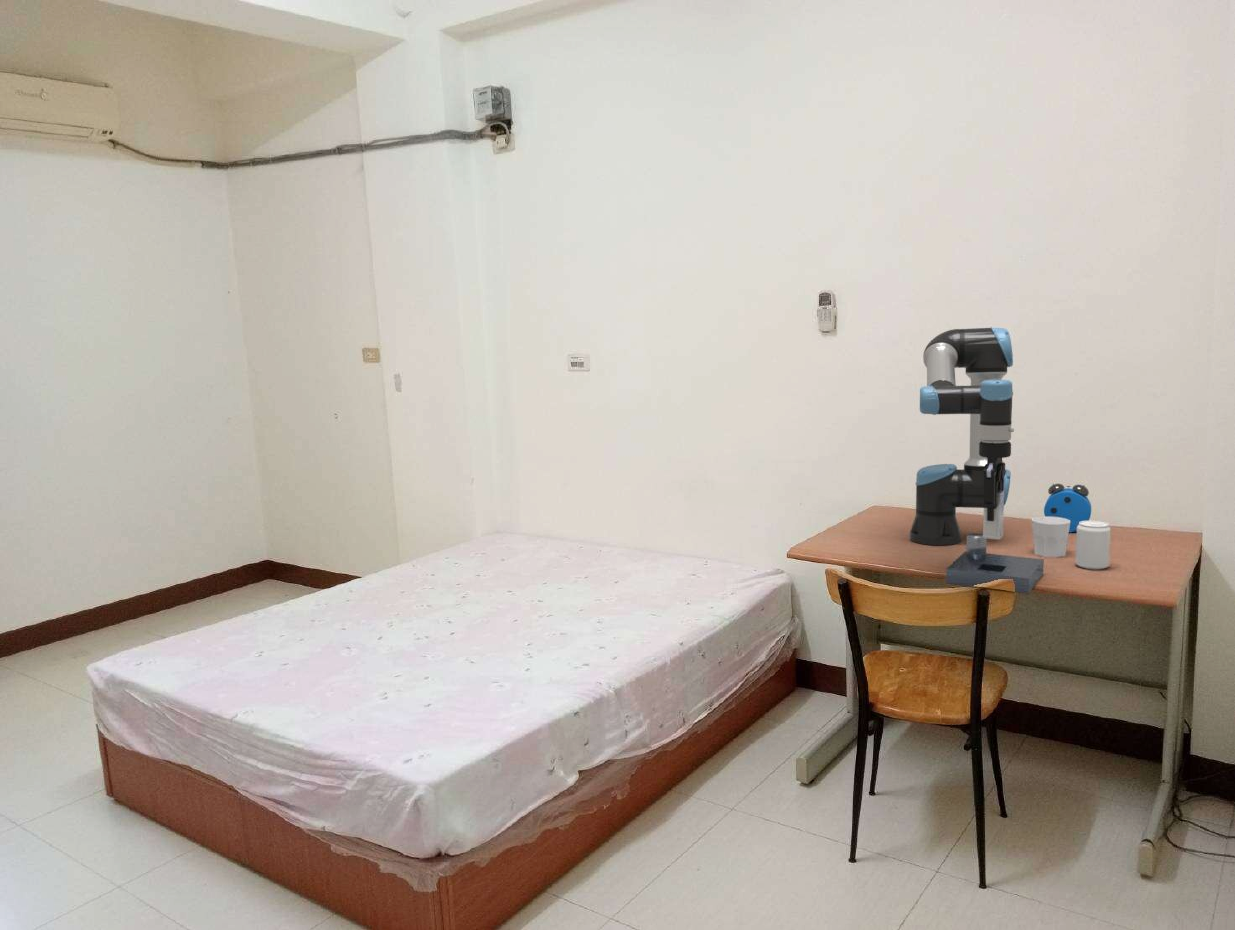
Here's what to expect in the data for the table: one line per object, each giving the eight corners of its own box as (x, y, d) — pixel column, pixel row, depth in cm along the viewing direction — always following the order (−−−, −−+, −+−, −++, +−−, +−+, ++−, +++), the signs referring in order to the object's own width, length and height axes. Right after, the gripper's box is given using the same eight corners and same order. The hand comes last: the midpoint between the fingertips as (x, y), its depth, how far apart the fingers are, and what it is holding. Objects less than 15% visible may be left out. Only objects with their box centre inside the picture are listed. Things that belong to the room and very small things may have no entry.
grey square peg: (983, 537, 232) (984, 492, 231) (986, 534, 236) (987, 489, 234) (999, 539, 230) (1000, 493, 228) (1002, 536, 233) (1004, 490, 232)
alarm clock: (1090, 530, 285) (1092, 483, 282) (1089, 534, 279) (1091, 487, 277) (1044, 527, 291) (1046, 481, 289) (1043, 531, 286) (1044, 484, 283)
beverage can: (1069, 563, 250) (1070, 521, 248) (1097, 561, 250) (1099, 519, 248) (1086, 571, 242) (1088, 527, 240) (1115, 569, 242) (1117, 525, 240)
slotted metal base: (945, 583, 236) (946, 546, 234) (965, 565, 252) (965, 530, 251) (1028, 594, 225) (1029, 555, 223) (1043, 573, 241) (1044, 537, 239)
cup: (1022, 552, 263) (1023, 519, 261) (1047, 547, 266) (1049, 515, 265) (1051, 560, 253) (1052, 525, 252) (1077, 555, 257) (1078, 521, 256)
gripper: (1003, 445, 220) (1001, 539, 224) (1017, 437, 234) (1015, 525, 238) (971, 444, 224) (969, 536, 228) (987, 436, 238) (985, 523, 242)
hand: (993, 530), depth 233 cm, fingers closed on grey square peg, 4 cm apart
